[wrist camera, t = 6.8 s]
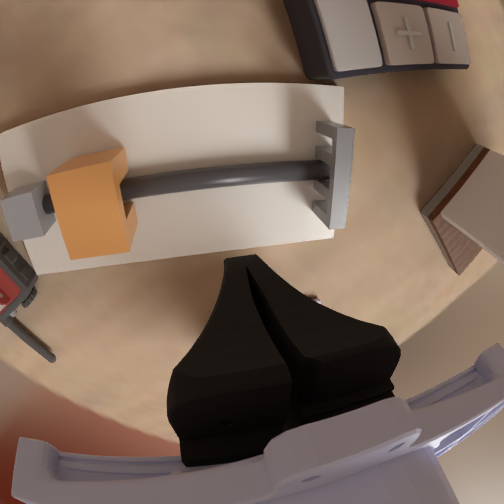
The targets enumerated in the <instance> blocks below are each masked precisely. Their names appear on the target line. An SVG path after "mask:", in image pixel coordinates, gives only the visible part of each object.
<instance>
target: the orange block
mask: <svg viewBox="0 0 504 504" xmlns="http://www.w3.org/2000/svg"><path fill="white" fill-rule="evenodd" d="M128 171H129V170H128V164H127V157H126V150H125V147H122V148H117V149H112V150H107V151H102V152H97V153H92V154H88V155H83V156H79V157H74V158H70V159H69V160H67V161H66V162H64V163H63V164H62V165H60V166H59V167H57V168H56V169H55V170H53V171H52V172H51V173H49V174H48V175H47V176H46V178H47V182H48V186H49V191H50V195H51V198H52V202H53V206H54V210H55V213H56V217H57V220H58V223H59V227H60V230H61V233H62V236H63V239H64V242H65V245H66V248H67V251H68V254H69V257H70V260H75V259H82V258H90V257H97V256H104V255H111V254H119V253H126V252H130V249H131V245H132V242H133V238H134V235H135V232H136V228H137V225H138V220H137V215H136V210H135V205H134V202H129V203H123V201H122V196H121V190H120V185H119V184H120V183H121V181H122V180H123V178H124V177H125V175H126V174H127V172H128Z"/></svg>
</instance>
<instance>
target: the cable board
mask: <svg viewBox="0 0 504 504" xmlns="http://www.w3.org/2000/svg"><path fill="white" fill-rule="evenodd" d="M343 113H344V87H340V86H330V85H317V84H299V83H233V84H215V85H202V86H191V87H181V88H173V89H165V90H158V91H151V92H145V93H139V94H134V95H128V96H123V97H118V98H113V99H108V100H104V101H100V102H95V103H91V104H87V105H83V106H79V107H76V108H72V109H69V110H65V111H62V112H58V113H55V114H52V115H49V116H46V117H42V118H39V119H37V120H34V121H31V122H28V123H25V124H22V125H20V126H17V127H15V128H12V129H9V130H7V131H4V132H2V133H0V161H1V166H2V170H3V174H4V179H5V183H6V187H7V191H8V194H7V195H6V196H4V197H3V198H2V199H1V200H0V205H1V208H2V211H3V215H4V218H5V221H6V224H7V227H8V230H9V233H10V235H11V238H12V241H13V242H16V241H21V240H23V241H24V244H25V247H26V250H27V252H28V255H29V257H30V260H31V262H32V265H33V267H34V270H35V272H36V274H37V275H42V274H49V273H57V272H65V271H72V270H80V269H88V268H95V267H103V266H111V265H119V264H126V263H134V262H142V261H150V260H158V259H166V258H173V257H181V256H189V255H197V254H205V253H213V252H221V251H229V250H237V249H245V248H254V247H262V246H270V245H278V244H286V243H294V242H303V241H311V240H319V239H327V238H333V236H334V229H342V228H345V224H346V217H347V209H348V200H349V191H350V181H351V171H352V160H353V147H354V132H355V129H354V128H351V127H348V126H345V125H343ZM122 147H125V150H126V157H127V164H128V170H129V171H128V172H127V174H126V175H125V177H124V178H123V180H122V181H121V183H120V184H119V185H120V190H121V196H122V201H123V203H129V202H134V205H135V210H136V215H137V220H138V225H137V228H136V232H135V235H134V238H133V242H132V245H131V249H130V252H126V253H119V254H111V255H104V256H97V257H90V258H82V259H75V260H70V257H69V254H68V251H67V248H66V245H65V242H64V239H63V236H62V233H61V230H60V227H59V223H58V220H57V217H56V213H55V210H54V206H53V202H52V198H51V195H50V191H49V186H48V182H47V178H46V176H47V175H48V174H49V173H51V172H52V171H53V170H55V169H56V168H57V167H59V166H60V165H62V164H63V163H64V162H66V161H67V160H69V159H70V158H74V157H79V156H83V155H88V154H92V153H97V152H102V151H107V150H112V149H117V148H122Z"/></svg>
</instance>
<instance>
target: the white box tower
mask: <svg viewBox="0 0 504 504" xmlns="http://www.w3.org/2000/svg"><path fill="white" fill-rule="evenodd" d="M420 213H421V215H422V216H423V218H424V220H425V221H426V223H427V225H428V227H429V228H430V230H431V232H432V234H433V236H434V238H435V239H436V241H437V243H438V245H439V247H440V249H441V251H442V253H443V255H444V257H445V259H446V261H447V263H448V265H449V267H450V268H452V269H453V270H454V271H455V272H456V273H457V274H458V275H459V276H460V275H461V273H462V272H463V271H464V270H465V269H466V268H467V267H468V265H469V264H470V263H471V262H472V261H473V259H474V258H475V257H476V256H477V255H478V253H479V252H480V251H481V250H482V248H483V249H485V250H486V251H487V252H488V253H490V254H491V255H492V256H493V257H494V258H496V259H497V260H498V261H499V262H500V263H501V264H503V265H504V156H503V155H501V154H499V153H496V152H494V151H492V150H490V149H487V148H485V147H483V146H480V145H478V144H476V145H475V146H474V147H473V149H472V150H471V151H470V153H469V154H468V155H467V156H466V158H465V159H464V160H463V162H462V163H461V164H460V165H459V167H458V168H457V169H456V170H455V172H454V173H453V174H452V175H451V176H450V178H449V179H448V180H447V181H446V182H445V184H444V185H443V186H442V187H441V188H440V190H439V191H438V192H437V193H436V194H435V195H434V197H433V198H432V199H431V200H430V201H429V202H428V203H427V205H426V206H425V207H424V208H423V209H422V210H421V211H420Z"/></svg>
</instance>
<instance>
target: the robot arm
mask: <svg viewBox="0 0 504 504" xmlns="http://www.w3.org/2000/svg"><path fill="white" fill-rule="evenodd" d="M400 356H401V351H400V348H399V346H398V345H397V343H396V342H395V340H394V339H393V337H392V336H391V334H390V333H389V332H388V331H387V329H386V328H385V327H383V326H379V325H375V324H371V323H367V322H364V321H360V320H357V319H354V318H352V317H349V316H346V315H343V314H341V313H338V312H336V311H334V310H332V309H330V308H328V307H325V306H323V305H321V301H320V299H311V298H309V297H307V296H306V295H304V294H302V293H301V292H299V291H298V290H297V289H295V288H294V287H292V286H291V285H290V284H289V283H287V282H286V281H285V280H284V279H282V278H281V277H280V276H279V275H278V274H276V273H275V272H274V271H273V270H272V269H271V268H270V267H269V266H268V265H267V264H266V263H265V262H264V261H263V260H262V259H261V258H260V257H259V256H257V255H256V254H255V255H247V256H240V257H232V258H226V259H225V260H224V276H223V281H222V285H221V289H220V293H219V296H218V299H217V302H216V304H215V307H214V309H213V312H212V314H211V316H210V318H209V320H208V322H207V324H206V326H205V328H204V329H203V331H202V333H201V334H200V336H199V338H198V339H197V340H196V342H195V343H194V345H193V346H192V348H191V349H190V350H189V352H188V353H187V354H186V355H185V357H184V358H183V359H182V360H181V361H180V362H179V363H178V365H177V366H176V367H175V368H174V369H173V372H172V375H171V379H170V383H169V387H168V394H167V417H168V420H169V423H170V424H171V426H172V428H173V429H174V431H175V433H176V434H177V436H178V437H179V440H180V451H181V456H165V457H111V456H95V455H83V454H73V453H65V452H59V451H58V450H57V449H56V448H55V447H53V446H52V445H51V444H49V443H47V442H45V441H41V440H35V439H29V438H24V437H20V438H19V442H18V447H17V453H16V460H15V466H14V474H13V483H12V493H11V495H12V496H13V497H14V498H16V499H18V500H20V501H22V502H24V503H27V504H459V502H458V500H457V498H456V495H455V493H454V491H453V489H452V487H451V485H450V483H449V481H448V479H447V477H446V475H445V473H444V471H443V470H442V468H441V465H440V464H439V462H438V460H437V457H439V456H440V455H442V454H443V453H445V452H446V451H448V450H449V449H451V448H452V447H453V446H455V445H457V444H458V443H459V442H461V441H462V440H464V439H465V438H466V437H468V436H469V435H470V434H472V433H473V432H474V431H476V430H477V429H478V428H480V427H481V426H482V425H484V424H485V423H486V422H487V421H489V420H490V419H491V418H492V417H494V416H495V415H496V414H497V413H498V412H499V411H500V410H501V409H502V408H503V407H504V349H503V347H502V346H501V345H500V344H499V343H496V344H495V345H493V346H491V347H489V348H488V349H487V350H485V351H484V352H482V353H481V354H480V356H479V357H478V358H477V360H476V361H475V363H474V365H473V366H472V367H470V368H468V369H466V370H465V371H463V372H461V373H459V374H458V375H456V376H454V377H452V378H450V379H448V380H447V381H445V382H443V383H441V384H439V385H437V386H435V387H433V388H431V389H429V390H427V391H425V392H423V393H420V394H418V395H416V396H414V397H412V398H410V399H408V400H405V399H403V398H400V397H395V396H394V394H393V392H392V390H393V389H394V385H393V383H392V382H391V380H390V378H391V376H392V374H393V372H394V370H395V368H396V366H397V364H398V361H399V358H400Z"/></svg>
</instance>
